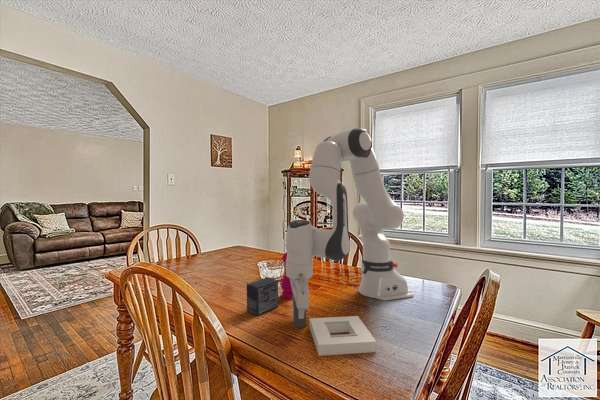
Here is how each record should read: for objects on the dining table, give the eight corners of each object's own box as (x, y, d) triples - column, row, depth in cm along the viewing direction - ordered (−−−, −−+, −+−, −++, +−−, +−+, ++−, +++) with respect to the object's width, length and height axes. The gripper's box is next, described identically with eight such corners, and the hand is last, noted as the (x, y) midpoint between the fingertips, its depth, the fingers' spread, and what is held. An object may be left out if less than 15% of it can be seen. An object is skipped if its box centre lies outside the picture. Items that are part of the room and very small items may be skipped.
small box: (266, 303, 115) (266, 276, 115) (279, 307, 111) (279, 279, 111) (245, 311, 107) (245, 283, 107) (258, 316, 103) (258, 287, 103)
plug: (304, 320, 100) (304, 294, 100) (306, 326, 96) (306, 299, 96) (292, 321, 100) (292, 295, 99) (293, 327, 96) (293, 299, 95)
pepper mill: (296, 300, 118) (296, 250, 117) (278, 298, 120) (278, 249, 119) (299, 293, 125) (300, 246, 124) (283, 292, 127) (283, 246, 126)
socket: (357, 324, 97) (357, 315, 97) (376, 352, 81) (376, 340, 81) (309, 327, 95) (309, 317, 95) (318, 355, 79) (318, 343, 79)
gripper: (314, 279, 87) (313, 325, 88) (304, 262, 107) (304, 299, 108) (292, 280, 86) (292, 326, 87) (287, 262, 107) (287, 300, 107)
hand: (299, 311), depth 98 cm, fingers open, 8 cm apart
